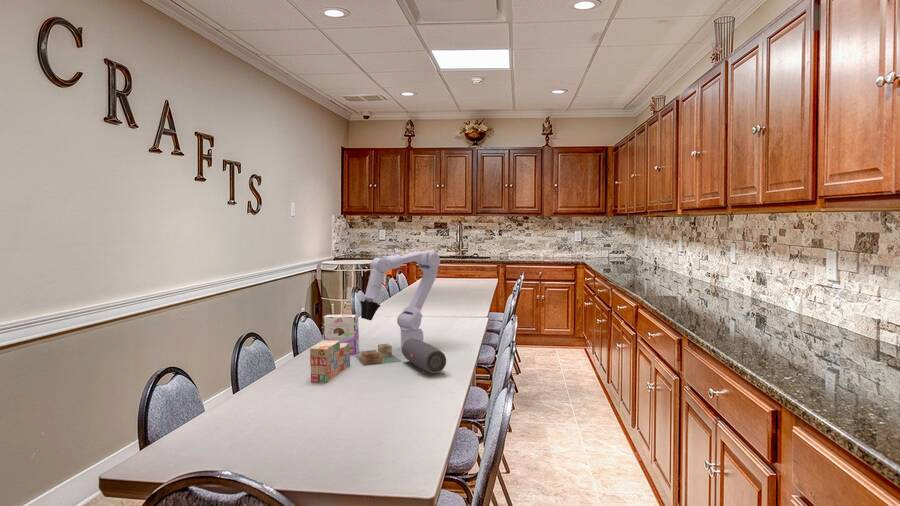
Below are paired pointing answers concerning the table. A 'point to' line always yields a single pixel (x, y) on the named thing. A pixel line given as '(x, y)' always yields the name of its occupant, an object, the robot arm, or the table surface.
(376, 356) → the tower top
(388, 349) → the oak block
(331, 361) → the stack of blocks
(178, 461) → the table surface
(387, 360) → the cutting mat
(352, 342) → the candy box
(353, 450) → the table surface
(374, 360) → the tower base
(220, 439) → the table surface
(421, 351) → the bluetooth speaker
